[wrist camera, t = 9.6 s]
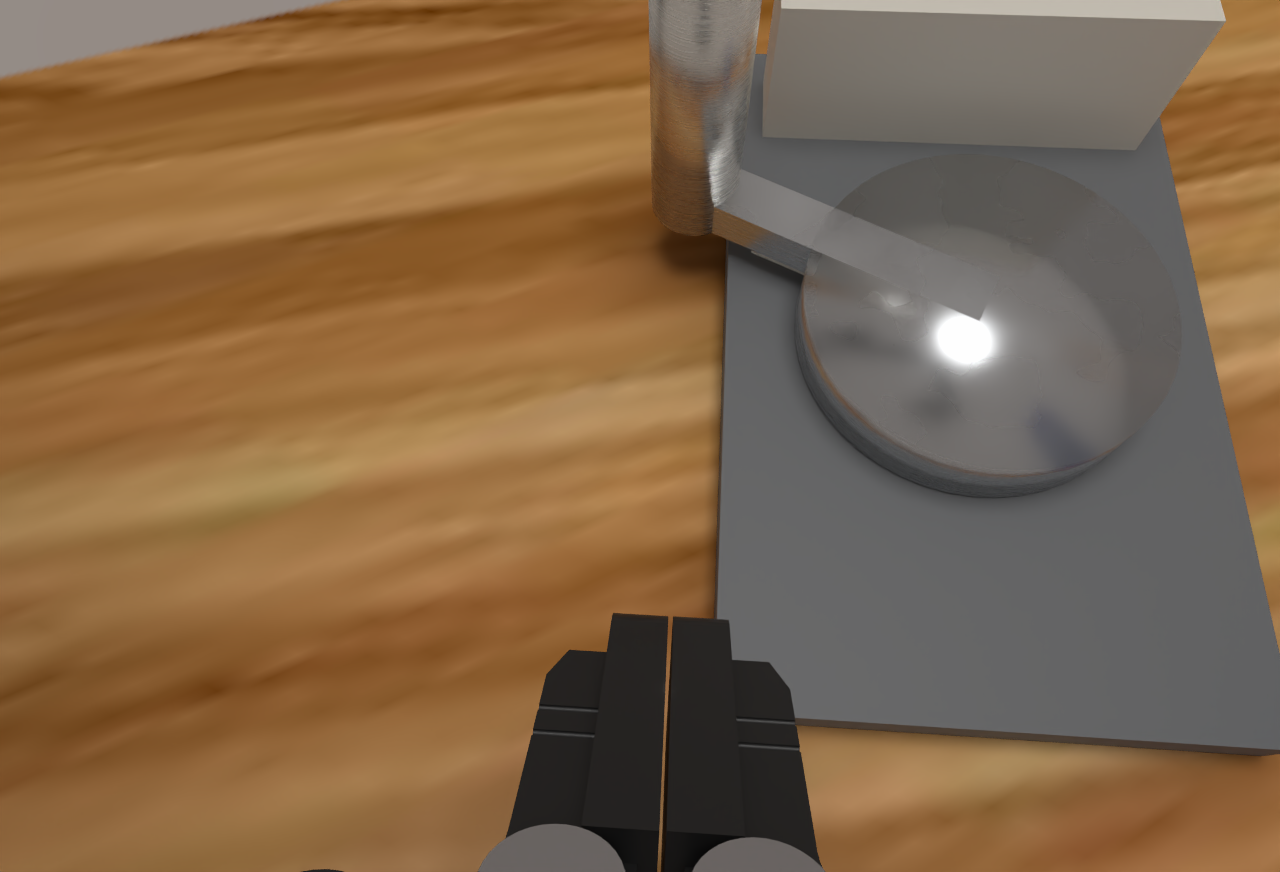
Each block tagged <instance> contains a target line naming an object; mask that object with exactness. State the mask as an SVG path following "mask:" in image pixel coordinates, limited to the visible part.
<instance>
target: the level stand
mask: <svg viewBox="0 0 1280 872" xmlns="http://www.w3.org/2000/svg"><path fill="white" fill-rule="evenodd" d="M1225 22H1226V20H1225V16H1224V12H1223V9H1222V5H1221V2H1220V0H774V6H773V14H772V21H771V28H770V35H769V43H768V50H767V54H755V60H754V68H753V76H752V84H751V93H750V101H749V109H748V117H747V126H746V134H745V142H744V150H743V159H742V167H741V169H742V170H745V171H747V172H750V173H752V174H754V175H757V176H759V177H762V178H764V179H766V180H769V181H771V182H774V183H776V184H778V185H781V186H783V187H786V188H788V189H790V190H793V191H795V192H798V193H800V194H802V195H805V196H807V197H810V198H812V199H814V200H817V201H819V202H822V203H824V204H826V205H829V206H831V207H834V208H835V207H836V206H837V205H838V204H839V203H840V202H841V201H842V200H843V199H844V198H845V197H846V196H847V195H848V194H850V193H851V192H852V191H853V190H855V189H856V188H857V187H858V186H859V185H861V184H862V183H864V182H866V181H867V180H869V179H871V178H872V177H874V176H876V175H877V174H879V173H882V172H884V171H886V170H889V169H891V168H893V167H895V166H898V165H901V164H905V163H908V162H911V161H914V160H918V159H923V158H929V157H934V156H941V155H954V154H980V155H990V156H998V157H1006V158H1010V159H1015V160H1019V161H1024V162H1028V163H1031V164H1034V165H1037V166H1040V167H1043V168H1046V169H1049V170H1052V171H1054V172H1057V173H1059V174H1061V175H1063V176H1066V177H1068V178H1070V179H1072V180H1074V181H1076V182H1078V183H1079V184H1081V185H1083V186H1085V187H1087V188H1088V189H1090V190H1092V191H1093V192H1095V193H1096V194H1098V195H1099V196H1100V197H1102V198H1103V199H1105V200H1106V201H1108V202H1109V203H1110V204H1112V205H1113V206H1114V207H1115V208H1116V209H1117V210H1119V211H1120V212H1121V213H1122V214H1123V215H1124V216H1125V217H1127V218H1128V219H1129V220H1130V221H1131V222H1132V223H1133V224H1134V226H1135V227H1136V228H1137V229H1138V230H1139V231H1140V232H1141V233H1142V234H1143V235H1144V236H1145V238H1146V239H1147V241H1148V242H1149V243H1150V245H1151V246H1152V248H1153V249H1154V250H1155V252H1156V253H1157V254H1158V256H1159V258H1160V260H1161V262H1162V264H1163V265H1164V267H1165V269H1166V271H1167V273H1168V275H1169V277H1170V280H1171V282H1172V285H1173V288H1174V290H1175V293H1176V296H1177V301H1178V305H1179V309H1180V314H1181V325H1182V345H1181V356H1180V360H1179V364H1178V368H1177V372H1176V375H1175V378H1174V380H1173V382H1172V385H1171V387H1170V389H1169V391H1168V393H1167V396H1166V397H1165V399H1164V400H1163V402H1162V403H1161V404H1160V406H1159V407H1158V409H1157V410H1156V412H1155V413H1154V414H1153V415H1152V416H1151V417H1150V418H1149V419H1148V421H1147V422H1146V423H1145V424H1144V425H1143V426H1142V427H1141V428H1140V429H1139V430H1138V431H1136V432H1135V433H1134V434H1133V435H1132V436H1130V437H1129V438H1128V439H1127V440H1126V441H1124V442H1123V443H1122V444H1121V445H1120V446H1118V447H1117V448H1116V449H1115V450H1114V451H1112V452H1111V453H1110V454H1109V455H1108V456H1106V457H1105V458H1104V459H1103V460H1102V461H1100V462H1099V463H1097V464H1096V465H1095V466H1093V467H1092V468H1091V469H1089V470H1088V471H1087V472H1085V473H1084V474H1082V475H1080V476H1078V477H1076V478H1074V479H1072V480H1070V481H1069V482H1067V483H1064V484H1062V485H1059V486H1056V487H1053V488H1050V489H1048V490H1045V491H1041V492H1036V493H1031V494H1027V495H1022V496H1011V497H999V498H993V497H972V496H965V495H959V494H953V493H947V492H944V491H940V490H937V489H933V488H929V487H926V486H923V485H920V484H918V483H915V482H913V481H911V480H908V479H906V478H903V477H901V476H899V475H897V474H895V473H893V472H892V471H890V470H888V469H886V468H884V467H883V466H881V465H879V464H878V463H876V462H875V461H873V460H872V459H870V458H869V457H868V456H866V455H865V454H863V453H862V452H861V451H859V450H858V449H857V448H856V447H855V446H854V445H853V444H851V443H850V442H849V441H848V440H847V439H846V438H845V437H844V436H843V435H842V434H841V433H840V432H839V431H838V430H837V429H836V428H835V426H834V425H833V424H832V423H831V422H830V421H829V419H828V418H827V417H826V416H825V414H824V413H823V411H822V410H821V408H820V407H819V405H818V404H817V402H816V401H815V399H814V397H813V395H812V393H811V391H810V389H809V387H808V385H807V383H806V381H805V379H804V376H803V373H802V369H801V366H800V363H799V360H798V355H797V349H796V344H795V313H796V306H797V300H798V296H799V292H800V289H801V285H802V281H803V277H804V273H803V272H801V271H798V270H796V269H794V268H792V267H789V266H787V265H785V264H782V263H780V262H778V261H776V260H773V259H771V258H769V257H766V256H764V255H762V254H760V253H757V252H755V251H753V250H750V249H748V248H746V247H743V246H741V245H739V244H737V243H734V242H732V241H730V240H727V239H726V267H725V298H724V329H723V360H722V391H721V422H720V453H719V484H718V515H717V546H716V577H715V608H714V619H724V620H729V624H730V637H731V651H732V660H744V661H760V662H770V664H771V665H772V666H773V668H774V669H775V670H776V672H777V673H778V674H779V675H780V677H781V678H782V679H783V681H784V682H785V683H786V685H787V686H788V687H789V688H790V691H791V697H792V703H793V709H794V715H795V725H804V726H819V727H834V728H849V729H864V730H879V731H895V732H910V733H925V734H940V735H955V736H970V737H985V738H1000V739H1015V740H1030V741H1045V742H1060V743H1075V744H1090V745H1105V746H1120V747H1135V748H1150V749H1165V750H1180V751H1195V752H1210V753H1225V754H1240V755H1255V756H1266V755H1274V754H1280V654H1279V649H1278V645H1277V641H1276V636H1275V632H1274V627H1273V623H1272V618H1271V614H1270V609H1269V605H1268V600H1267V596H1266V591H1265V587H1264V582H1263V578H1262V573H1261V569H1260V565H1259V560H1258V556H1257V551H1256V547H1255V542H1254V538H1253V533H1252V529H1251V524H1250V520H1249V515H1248V511H1247V506H1246V502H1245V497H1244V493H1243V489H1242V484H1241V480H1240V475H1239V471H1238V466H1237V462H1236V457H1235V453H1234V448H1233V444H1232V439H1231V435H1230V430H1229V426H1228V421H1227V417H1226V413H1225V408H1224V404H1223V399H1222V395H1221V390H1220V386H1219V381H1218V377H1217V372H1216V368H1215V363H1214V359H1213V354H1212V350H1211V345H1210V341H1209V336H1208V332H1207V328H1206V323H1205V319H1204V314H1203V310H1202V305H1201V301H1200V296H1199V292H1198V287H1197V283H1196V278H1195V274H1194V269H1193V265H1192V260H1191V256H1190V252H1189V247H1188V243H1187V238H1186V234H1185V229H1184V225H1183V220H1182V216H1181V211H1180V207H1179V202H1178V198H1177V193H1176V189H1175V184H1174V180H1173V176H1172V171H1171V167H1170V162H1169V158H1168V153H1167V149H1166V144H1165V140H1164V135H1163V131H1162V126H1161V122H1160V117H1159V116H1160V115H1161V113H1162V112H1163V110H1164V109H1165V107H1166V106H1167V105H1168V103H1169V102H1170V100H1171V99H1172V97H1173V96H1174V95H1175V93H1176V92H1177V90H1178V89H1179V87H1180V86H1181V85H1182V83H1183V82H1184V80H1185V79H1186V77H1187V76H1188V75H1189V73H1190V72H1191V70H1192V69H1193V67H1194V66H1195V65H1196V63H1197V62H1198V60H1199V59H1200V57H1201V56H1202V55H1203V53H1204V52H1205V50H1206V49H1207V47H1208V46H1209V45H1210V43H1211V42H1212V40H1213V39H1214V37H1215V36H1216V35H1217V33H1218V32H1219V30H1220V29H1221V27H1222V26H1223V25H1224V23H1225Z"/></svg>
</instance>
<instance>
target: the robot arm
mask: <svg viewBox="0 0 1280 872" xmlns="http://www.w3.org/2000/svg"><path fill="white" fill-rule="evenodd" d="M667 634H668V616H653V615H637V614H620V613H613V615H612V621H611V627H610V634H609V641H608V648H607V652H594V651H578V650H569V651H568V652H567V653H566V654H565V655H564V656H563V657H562V658H561V659H560V660H559V661H558V663H557V664H556V665H555V666H554V667H553V668H552V669H551V670H550V671H549V672H548V673H547V675H546V679H545V683H544V687H543V691H542V695H541V699H540V703H539V710H538V711H537V715H536V719H535V723H534V728H533V735H532V736H531V740H530V744H529V748H528V752H527V756H526V760H525V764H524V768H523V772H522V776H521V780H520V785H519V789H518V793H517V797H516V801H515V805H514V809H513V813H512V817H511V821H510V825H509V829H508V832H507V835H506V838H505V839H504V840H503V841H502V842H500V843H499V844H498V845H497V846H496V847H495V848H494V849H493V850H492V851H490V852H489V854H488V855H487V857H486V858H485V859H484V861H483V862H482V864H481V866H480V869H479V871H478V872H657V861H658V843H659V824H660V800H661V776H662V752H663V729H664V705H665V681H666V657H667ZM799 747H800V745H799V739H798V733H797V727H796V726H795V715H794V709H793V703H792V697H791V691H790V688H789V687H788V686H787V685H786V683H785V682H784V681H783V679H782V678H781V677H780V675H779V674H778V673H777V672H776V670H775V669H774V668H773V666H772V665H771V664H770V662H760V661H744V660H732V651H731V637H730V624H729V620H724V619H707V618H690V617H674V616H673V626H672V643H671V660H670V677H669V695H668V712H667V731H666V751H665V776H664V803H663V829H662V856H661V872H825V871H824V869H823V868H822V865H821V863H820V860H819V856H818V853H817V847H816V841H815V835H814V829H813V823H812V817H811V811H810V805H809V799H808V793H807V787H806V781H805V775H804V769H803V763H802V757H801V752H800V751H799ZM303 872H343V871H338V870H329V869H321V870H309V871H303Z"/></svg>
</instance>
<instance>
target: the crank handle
mask: <svg viewBox="0 0 1280 872" xmlns="http://www.w3.org/2000/svg"><path fill="white" fill-rule="evenodd" d="M761 2H762V0H649V47H650V114H651V181H652V207H653V211H654V213H655V215H656V217H657V218H658V220H659V221H660V222H661V223H662V224H663V225H664V226H665V227H667V228H668V229H670V230H672V231H674V232H677V233H679V234H683V235H689V236H700V235H706V234H710V233H714V234H716V235H718V236H721V237H723V238H725V239H727V240H730V241H732V242H734V243H737V244H739V245H741V246H743V247H746V248H748V249H750V250H753V251H755V252H757V253H760V254H762V255H764V256H766V257H769V258H771V259H773V260H776V261H778V262H780V263H782V264H785V265H787V266H789V267H792V268H794V269H796V270H798V271H801V272H803V273H804V277H803V281H802V285H801V289H800V292H799V296H798V300H797V306H796V313H795V344H796V349H797V355H798V360H799V363H800V366H801V369H802V373H803V376H804V379H805V381H806V383H807V385H808V387H809V389H810V391H811V393H812V395H813V397H814V399H815V401H816V402H817V404H818V405H819V407H820V408H821V410H822V411H823V413H824V414H825V416H826V417H827V418H828V419H829V421H830V422H831V423H832V424H833V425H834V426H835V428H836V429H837V430H838V431H839V432H840V433H841V434H842V435H843V436H844V437H845V438H846V439H847V440H848V441H849V442H850V443H851V444H853V445H854V446H855V447H856V448H857V449H858V450H859V451H861V452H862V453H863V454H865V455H866V456H868V457H869V458H870V459H872V460H873V461H875V462H876V463H878V464H879V465H881V466H883V467H884V468H886V469H888V470H890V471H892V472H893V473H895V474H897V475H899V476H901V477H903V478H906V479H908V480H911V481H913V482H915V483H918V484H920V485H923V486H926V487H929V488H933V489H937V490H940V491H944V492H947V493H953V494H959V495H965V496H972V497H993V498H999V497H1011V496H1022V495H1027V494H1031V493H1036V492H1041V491H1045V490H1048V489H1050V488H1053V487H1056V486H1059V485H1062V484H1064V483H1067V482H1069V481H1070V480H1072V479H1074V478H1076V477H1078V476H1080V475H1082V474H1084V473H1085V472H1087V471H1088V470H1089V469H1091V468H1092V467H1093V466H1095V465H1096V464H1097V463H1099V462H1100V461H1102V460H1103V459H1104V458H1105V457H1106V456H1108V455H1109V454H1110V453H1111V452H1112V451H1114V450H1115V449H1116V448H1117V447H1118V446H1120V445H1121V444H1122V443H1123V442H1124V441H1126V440H1127V439H1128V438H1129V437H1130V436H1132V435H1133V434H1134V433H1135V432H1136V431H1138V430H1139V429H1140V428H1141V427H1142V426H1143V425H1144V424H1145V423H1146V422H1147V421H1148V419H1149V418H1150V417H1151V416H1152V415H1153V414H1154V413H1155V412H1156V410H1157V409H1158V407H1159V406H1160V404H1161V403H1162V402H1163V400H1164V399H1165V397H1166V396H1167V393H1168V391H1169V389H1170V387H1171V385H1172V382H1173V380H1174V378H1175V375H1176V372H1177V368H1178V364H1179V360H1180V356H1181V345H1182V325H1181V314H1180V309H1179V305H1178V301H1177V296H1176V293H1175V290H1174V288H1173V285H1172V282H1171V280H1170V277H1169V275H1168V273H1167V271H1166V269H1165V267H1164V265H1163V264H1162V262H1161V260H1160V258H1159V256H1158V254H1157V253H1156V252H1155V250H1154V249H1153V248H1152V246H1151V245H1150V243H1149V242H1148V241H1147V239H1146V238H1145V236H1144V235H1143V234H1142V233H1141V232H1140V231H1139V230H1138V229H1137V228H1136V227H1135V226H1134V224H1133V223H1132V222H1131V221H1130V220H1129V219H1128V218H1127V217H1125V216H1124V215H1123V214H1122V213H1121V212H1120V211H1119V210H1117V209H1116V208H1115V207H1114V206H1113V205H1112V204H1110V203H1109V202H1108V201H1106V200H1105V199H1103V198H1102V197H1100V196H1099V195H1098V194H1096V193H1095V192H1093V191H1092V190H1090V189H1088V188H1087V187H1085V186H1083V185H1081V184H1079V183H1078V182H1076V181H1074V180H1072V179H1070V178H1068V177H1066V176H1063V175H1061V174H1059V173H1057V172H1054V171H1052V170H1049V169H1046V168H1043V167H1040V166H1037V165H1034V164H1031V163H1028V162H1024V161H1019V160H1015V159H1010V158H1006V157H998V156H990V155H980V154H954V155H941V156H934V157H929V158H923V159H918V160H914V161H911V162H908V163H905V164H901V165H898V166H895V167H893V168H891V169H889V170H886V171H884V172H882V173H879V174H877V175H876V176H874V177H872V178H871V179H869V180H867V181H866V182H864V183H862V184H861V185H859V186H858V187H857V188H856V189H855V190H853V191H852V192H851V193H850V194H848V195H847V196H846V197H845V198H844V199H843V200H842V201H841V202H840V203H839V204H838V205H837V206H836V207H835V208H834V207H831V206H829V205H826V204H824V203H822V202H819V201H817V200H814V199H812V198H810V197H807V196H805V195H802V194H800V193H798V192H795V191H793V190H790V189H788V188H786V187H783V186H781V185H778V184H776V183H774V182H771V181H769V180H766V179H764V178H762V177H759V176H757V175H754V174H752V173H750V172H747V171H745V170H742V169H741V167H742V159H743V150H744V142H745V134H746V126H747V117H748V109H749V101H750V93H751V84H752V76H753V68H754V60H755V52H756V43H757V35H758V27H759V19H760V10H761Z"/></svg>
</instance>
